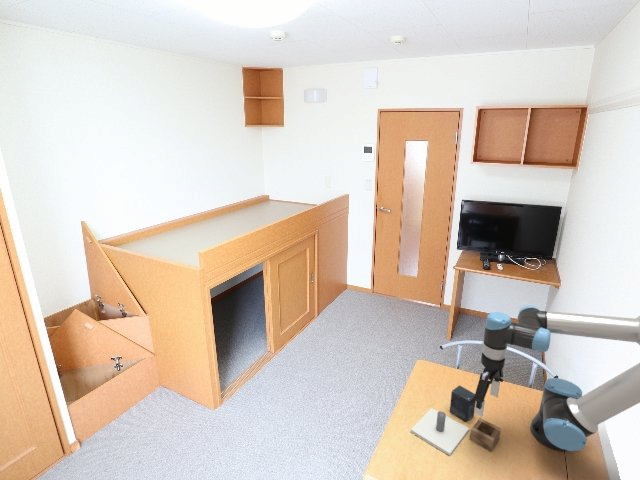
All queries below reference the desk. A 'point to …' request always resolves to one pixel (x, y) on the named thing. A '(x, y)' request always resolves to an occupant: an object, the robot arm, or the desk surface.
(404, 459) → the desk surface
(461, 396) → the box
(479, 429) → the collar
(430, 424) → the thin white baseboard
